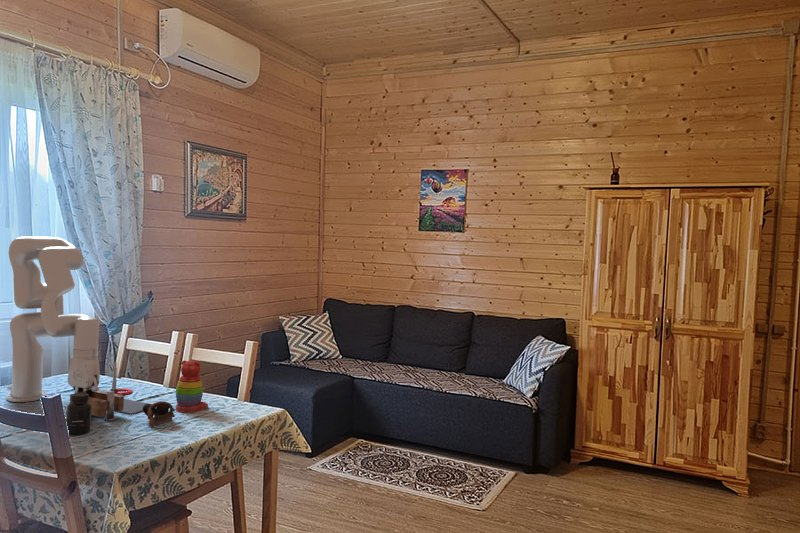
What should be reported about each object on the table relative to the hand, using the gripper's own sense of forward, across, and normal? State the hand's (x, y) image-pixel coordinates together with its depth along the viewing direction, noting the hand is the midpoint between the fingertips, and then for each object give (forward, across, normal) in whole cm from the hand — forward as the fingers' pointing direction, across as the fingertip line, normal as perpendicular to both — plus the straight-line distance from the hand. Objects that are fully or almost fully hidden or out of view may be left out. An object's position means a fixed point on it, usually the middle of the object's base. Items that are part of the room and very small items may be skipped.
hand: (83, 405), depth 202 cm
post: (+2, +13, 0) cm, 13 cm away
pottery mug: (+2, +28, +5) cm, 29 cm away
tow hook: (+4, -11, +26) cm, 28 cm away
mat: (+3, +6, +13) cm, 15 cm away
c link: (0, +6, 0) cm, 6 cm away
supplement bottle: (+3, +15, -14) cm, 21 cm away
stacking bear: (+2, +26, +23) cm, 35 cm away
